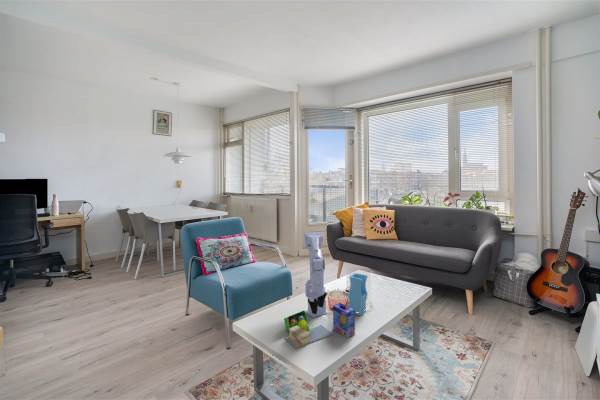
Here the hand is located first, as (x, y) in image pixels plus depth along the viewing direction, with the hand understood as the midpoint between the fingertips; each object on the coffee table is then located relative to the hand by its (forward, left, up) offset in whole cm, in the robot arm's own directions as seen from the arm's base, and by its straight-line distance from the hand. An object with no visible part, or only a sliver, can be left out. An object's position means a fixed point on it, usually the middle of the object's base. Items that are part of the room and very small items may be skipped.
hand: (317, 310), depth 143 cm
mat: (+8, +4, -9) cm, 13 cm away
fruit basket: (+10, -9, -7) cm, 15 cm away
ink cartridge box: (-9, +9, -10) cm, 16 cm away
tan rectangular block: (+13, +4, -9) cm, 16 cm away
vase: (-29, -3, -10) cm, 31 cm away
